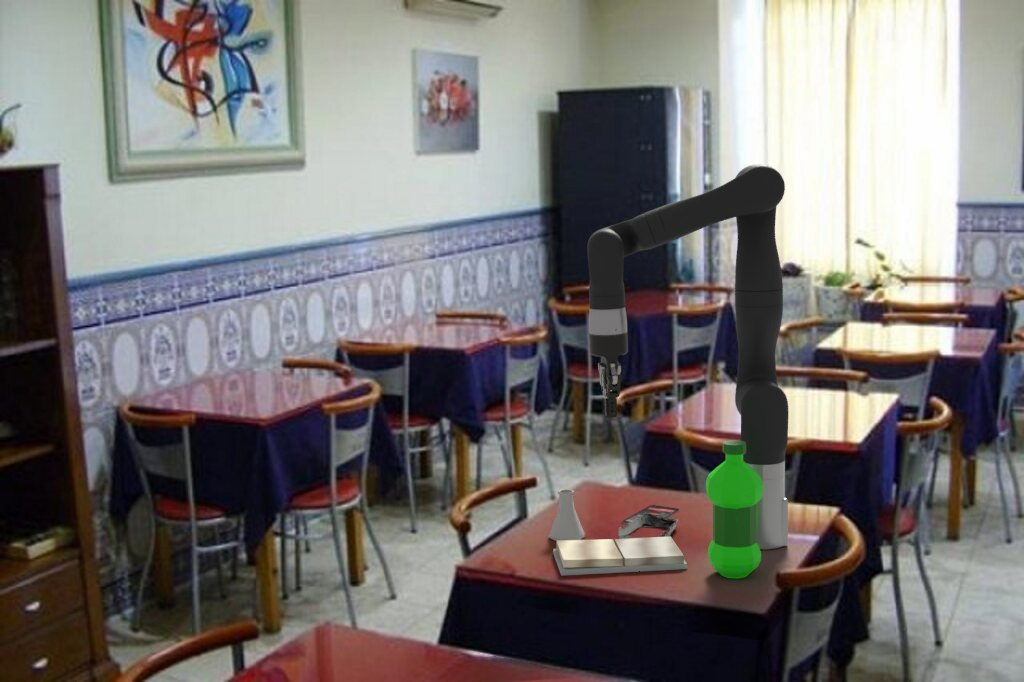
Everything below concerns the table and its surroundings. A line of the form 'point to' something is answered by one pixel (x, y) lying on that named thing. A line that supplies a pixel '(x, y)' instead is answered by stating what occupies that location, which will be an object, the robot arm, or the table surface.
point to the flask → (566, 519)
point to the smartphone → (654, 510)
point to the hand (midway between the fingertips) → (611, 416)
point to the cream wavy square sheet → (589, 553)
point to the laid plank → (649, 551)
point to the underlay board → (614, 568)
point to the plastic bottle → (734, 513)
